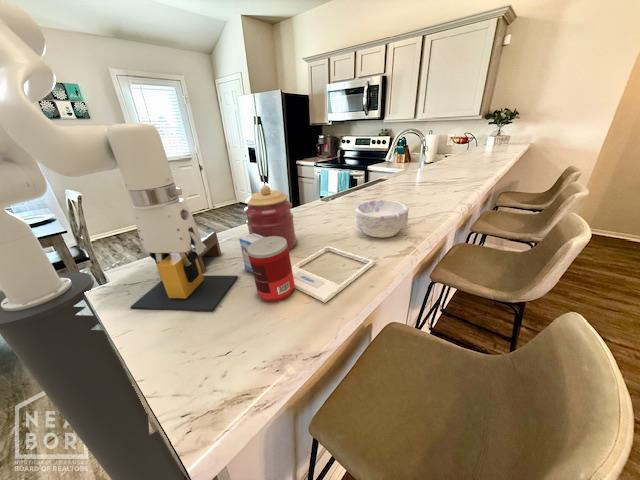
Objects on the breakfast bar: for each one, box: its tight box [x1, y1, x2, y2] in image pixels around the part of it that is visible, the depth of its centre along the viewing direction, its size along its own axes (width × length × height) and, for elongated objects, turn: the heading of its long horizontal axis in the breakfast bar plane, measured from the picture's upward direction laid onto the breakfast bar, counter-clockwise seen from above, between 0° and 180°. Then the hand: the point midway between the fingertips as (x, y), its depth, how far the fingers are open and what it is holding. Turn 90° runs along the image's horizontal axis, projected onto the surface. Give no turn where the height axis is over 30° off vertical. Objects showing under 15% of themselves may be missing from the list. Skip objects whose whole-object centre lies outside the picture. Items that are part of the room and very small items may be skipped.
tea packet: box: [155, 249, 204, 298], centre depth 56 cm, size 4×7×8 cm, turn 173°
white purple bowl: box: [354, 199, 409, 239], centre depth 79 cm, size 15×15×8 cm
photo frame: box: [291, 245, 375, 304], centre depth 61 cm, size 15×1×18 cm
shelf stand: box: [154, 230, 222, 274], centre depth 69 cm, size 12×10×7 cm
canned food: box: [247, 236, 295, 302], centre depth 53 cm, size 8×8×11 cm
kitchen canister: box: [243, 185, 297, 251], centre depth 73 cm, size 13×13×18 cm
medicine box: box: [238, 233, 264, 274], centre depth 62 cm, size 8×4×9 cm, turn 49°
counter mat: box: [129, 274, 238, 313], centre depth 58 cm, size 18×12×1 cm, turn 83°
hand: (183, 278), depth 56 cm, fingers closed on tea packet, 4 cm apart
